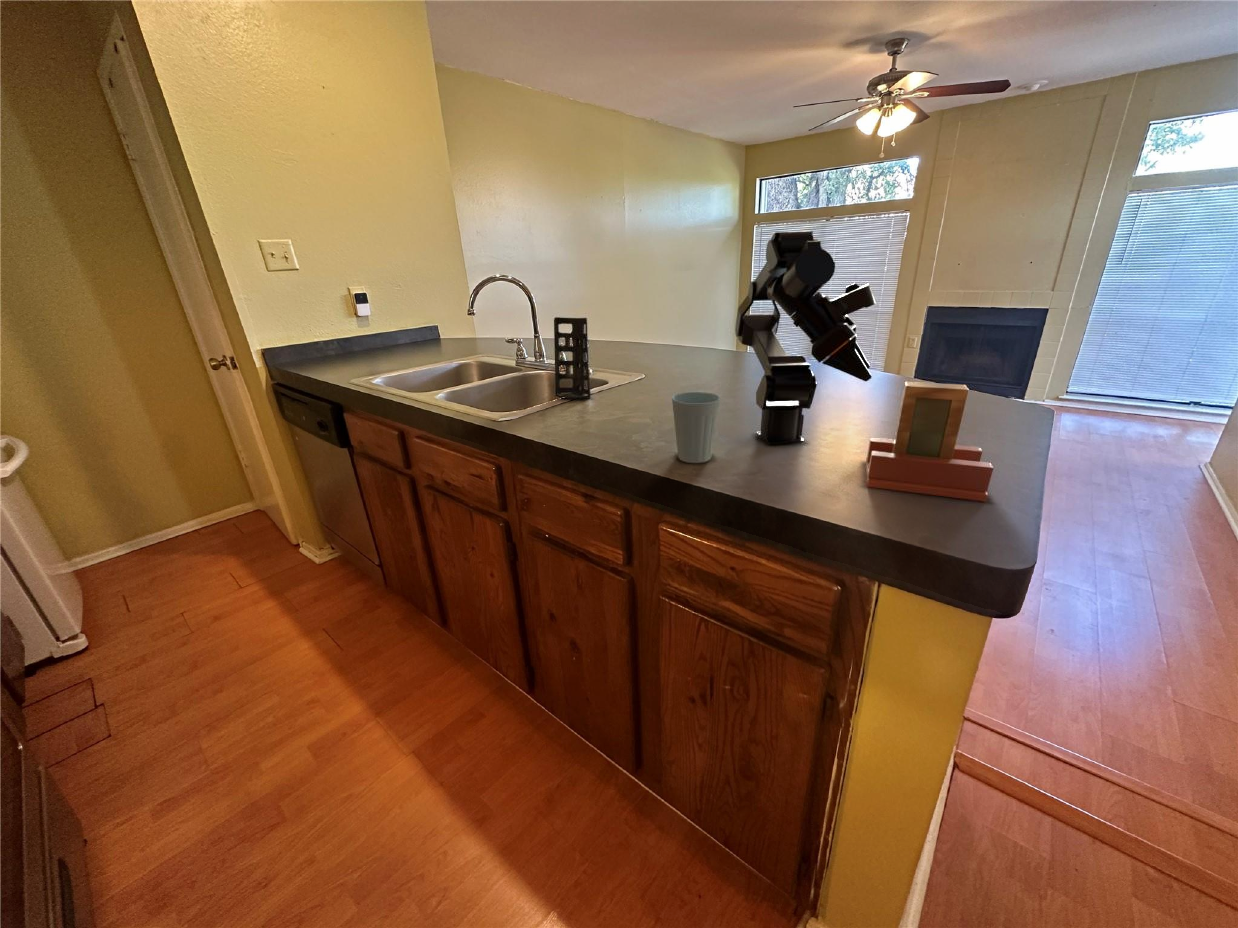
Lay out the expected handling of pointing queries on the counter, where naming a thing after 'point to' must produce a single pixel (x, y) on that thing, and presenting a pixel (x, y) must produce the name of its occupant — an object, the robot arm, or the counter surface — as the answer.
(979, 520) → the counter surface
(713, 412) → the cup
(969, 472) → the slot stand
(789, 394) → the robot arm
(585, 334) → the holder
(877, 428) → the counter surface
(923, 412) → the frame
